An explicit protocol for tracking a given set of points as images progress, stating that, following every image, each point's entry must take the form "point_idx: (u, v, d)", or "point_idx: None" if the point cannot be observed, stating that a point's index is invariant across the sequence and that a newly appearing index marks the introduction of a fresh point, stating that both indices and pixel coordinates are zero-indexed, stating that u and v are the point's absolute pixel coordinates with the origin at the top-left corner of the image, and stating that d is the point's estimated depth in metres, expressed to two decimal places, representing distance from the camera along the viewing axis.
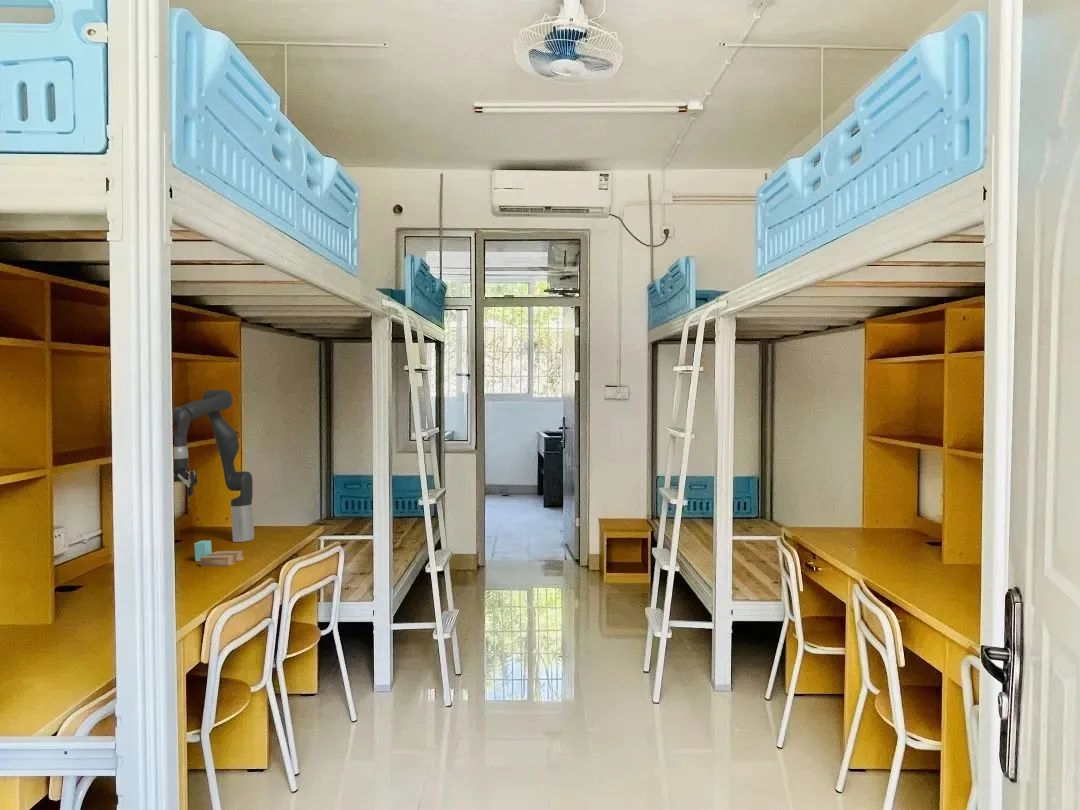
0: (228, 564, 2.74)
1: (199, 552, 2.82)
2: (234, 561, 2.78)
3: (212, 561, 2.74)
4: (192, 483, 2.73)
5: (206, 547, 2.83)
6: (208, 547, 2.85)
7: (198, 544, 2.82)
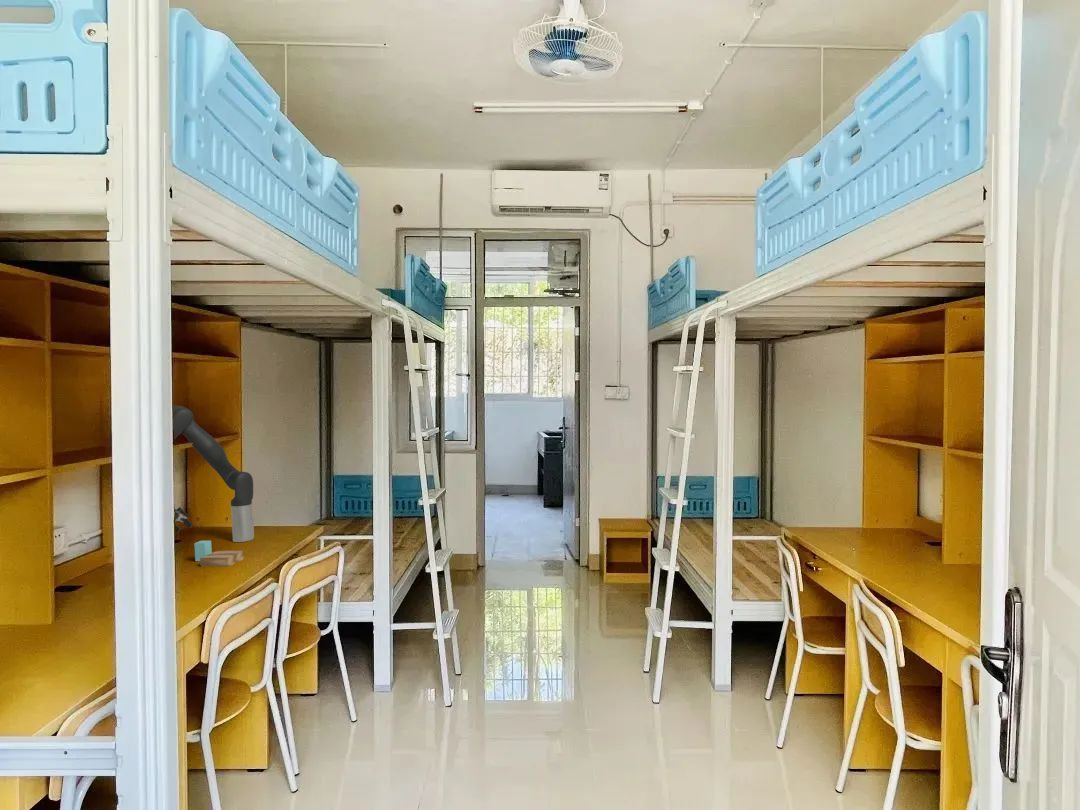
0: (228, 564, 2.74)
1: (199, 552, 2.82)
2: (234, 561, 2.78)
3: (212, 561, 2.74)
4: None
5: (206, 547, 2.83)
6: (208, 547, 2.85)
7: (198, 544, 2.82)
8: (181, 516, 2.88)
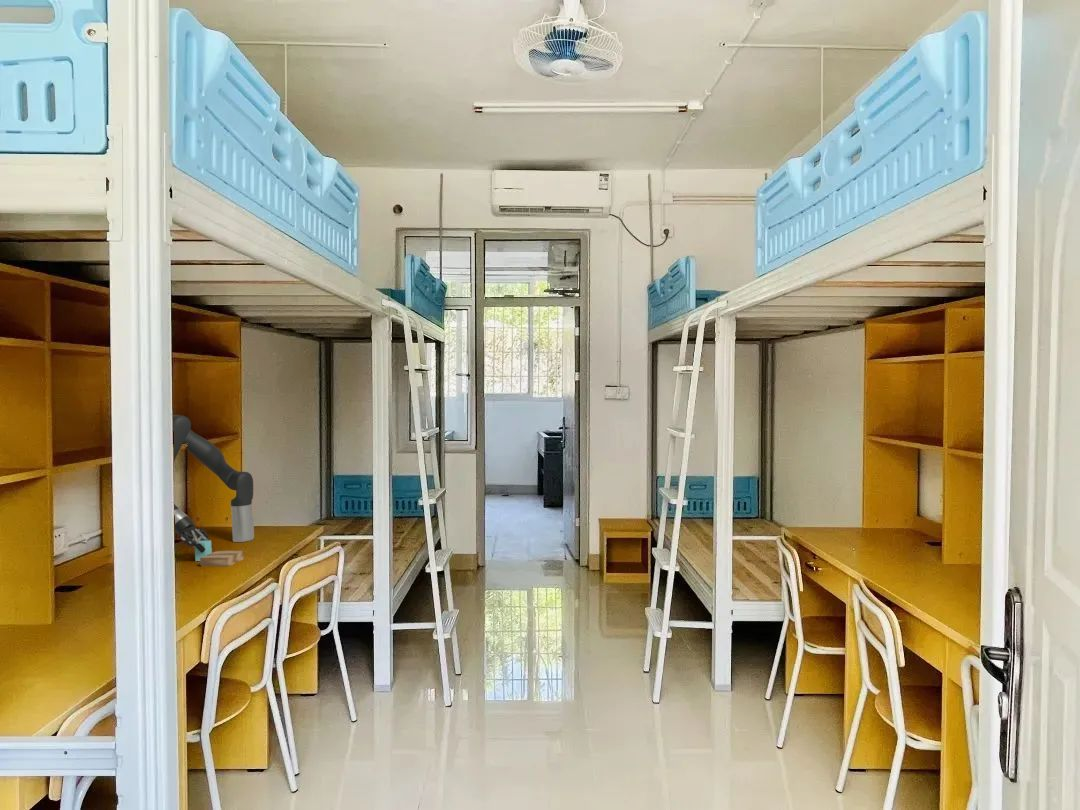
0: (228, 564, 2.74)
1: (199, 552, 2.82)
2: (234, 561, 2.78)
3: (212, 561, 2.74)
4: None
5: (206, 547, 2.83)
6: (208, 547, 2.85)
7: None
8: (201, 536, 2.86)
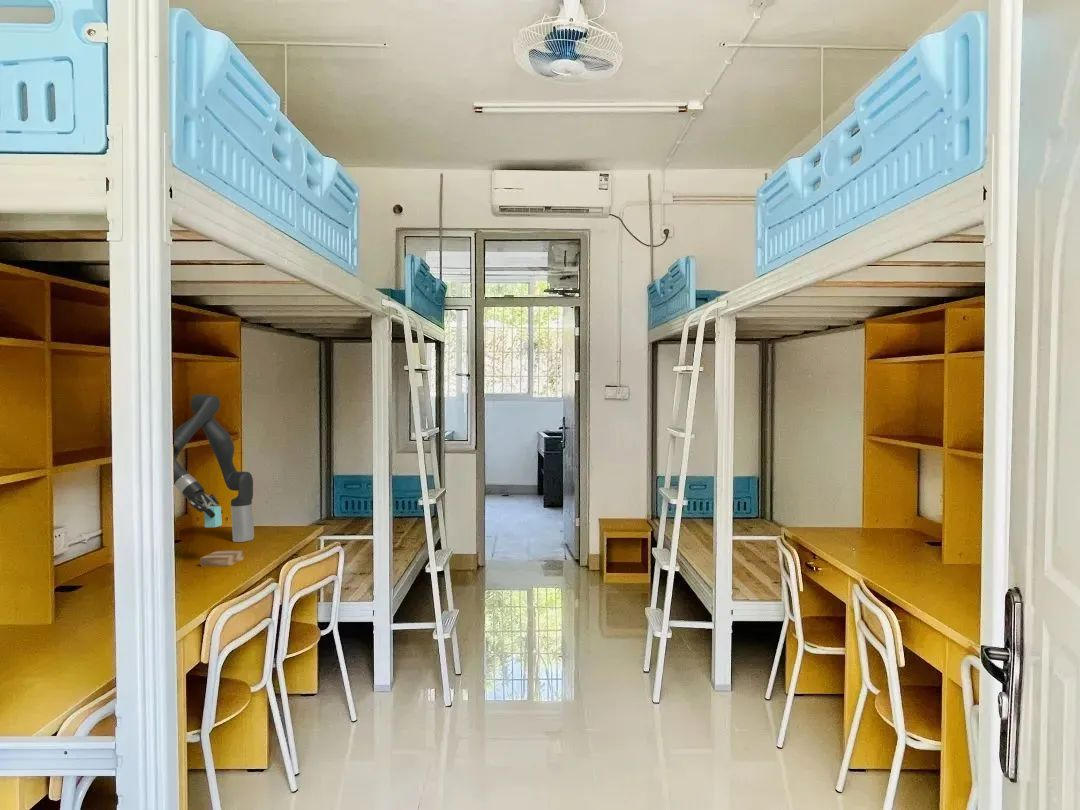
0: (228, 564, 2.74)
1: (209, 517, 2.78)
2: (234, 561, 2.78)
3: (212, 561, 2.74)
4: None
5: (215, 513, 2.78)
6: (218, 513, 2.80)
7: None
8: (211, 502, 2.82)
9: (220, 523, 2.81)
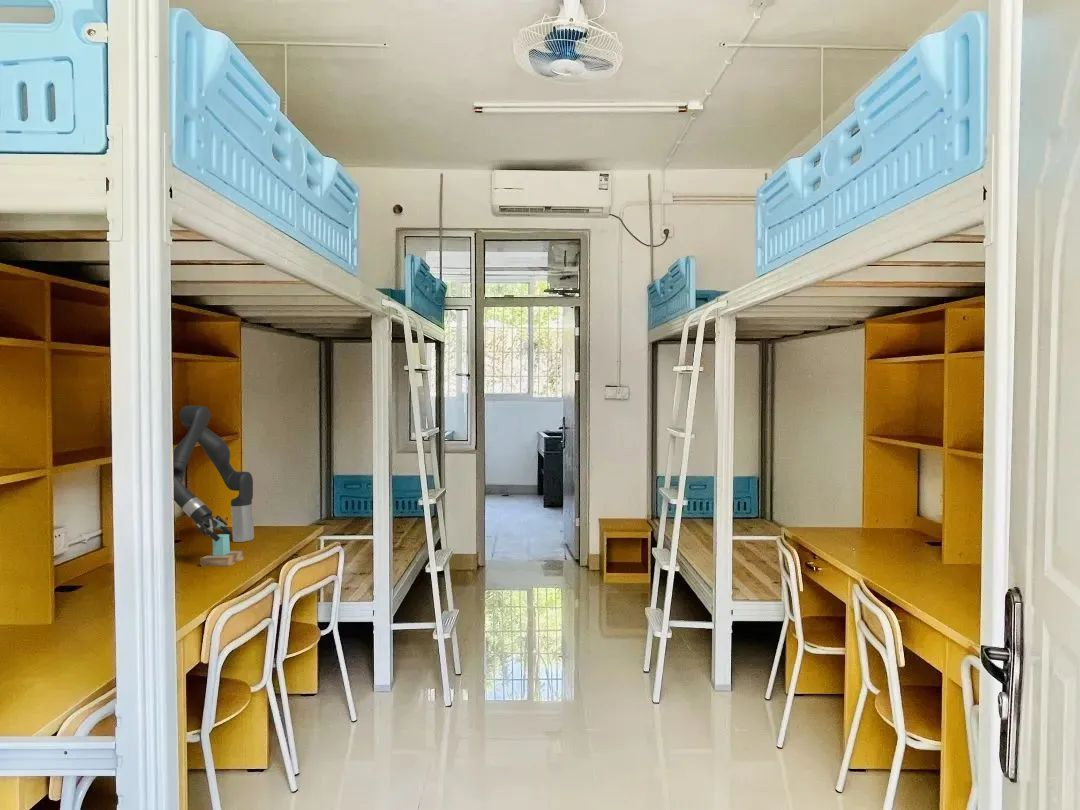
0: (228, 564, 2.74)
1: (217, 546, 2.77)
2: (234, 561, 2.78)
3: (212, 561, 2.74)
4: None
5: (224, 541, 2.78)
6: (226, 541, 2.79)
7: None
8: (220, 524, 2.82)
9: (228, 551, 2.81)
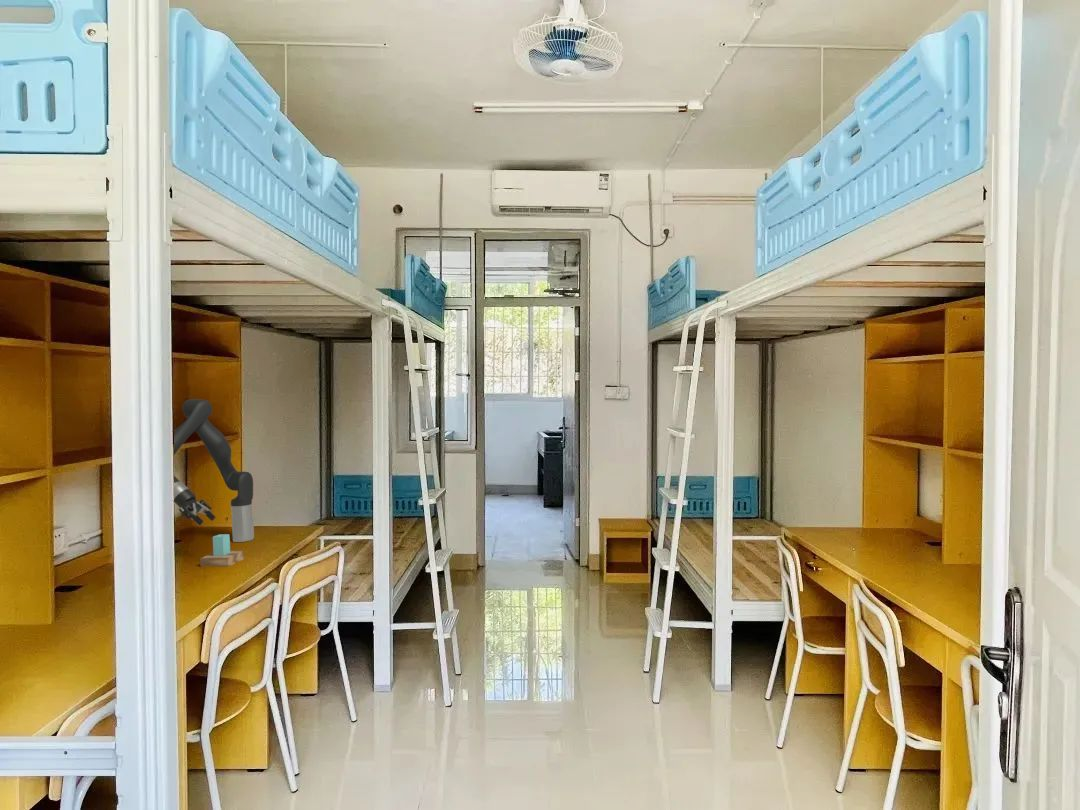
0: (228, 564, 2.74)
1: (217, 546, 2.77)
2: (234, 561, 2.78)
3: (212, 561, 2.74)
4: None
5: (224, 541, 2.78)
6: (226, 541, 2.79)
7: (216, 538, 2.77)
8: (204, 508, 2.83)
9: (228, 551, 2.80)
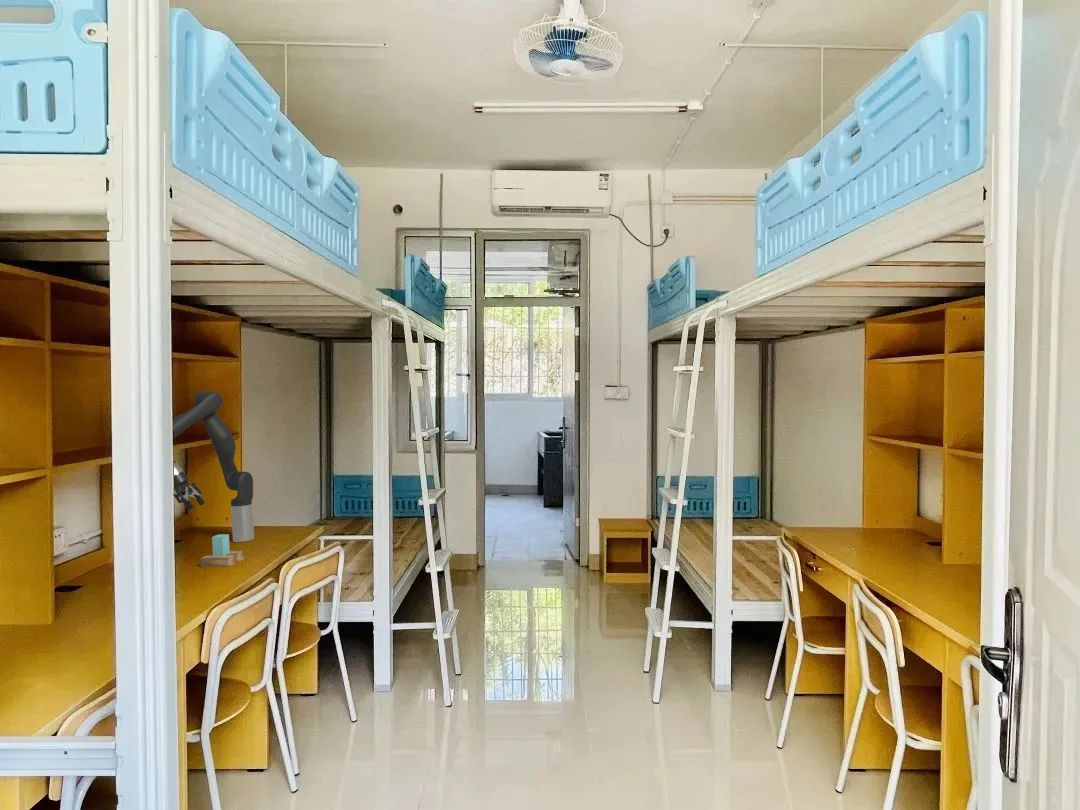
0: (228, 564, 2.74)
1: (217, 546, 2.77)
2: (234, 561, 2.78)
3: (212, 561, 2.74)
4: None
5: (223, 541, 2.77)
6: (226, 541, 2.79)
7: (216, 538, 2.77)
8: (195, 492, 2.87)
9: (228, 551, 2.80)
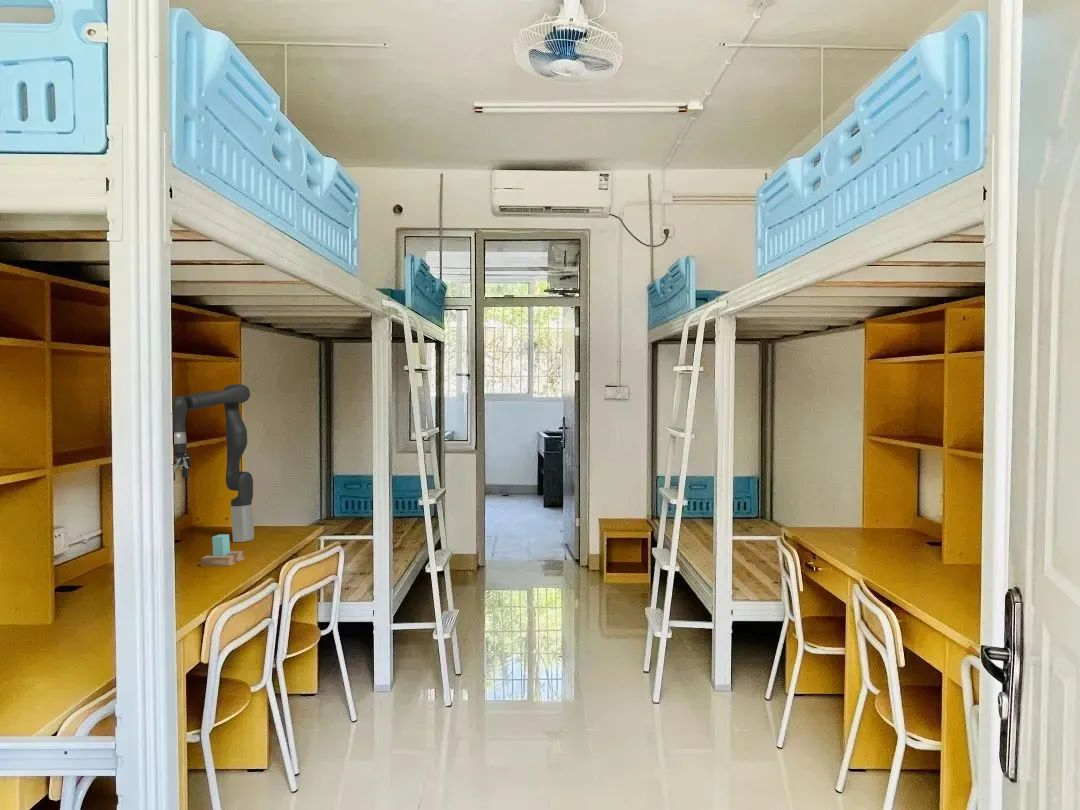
0: (228, 564, 2.74)
1: (217, 546, 2.77)
2: (234, 561, 2.78)
3: (212, 561, 2.74)
4: None
5: (223, 541, 2.77)
6: (226, 541, 2.79)
7: (216, 538, 2.77)
8: (184, 465, 2.96)
9: (228, 551, 2.80)
